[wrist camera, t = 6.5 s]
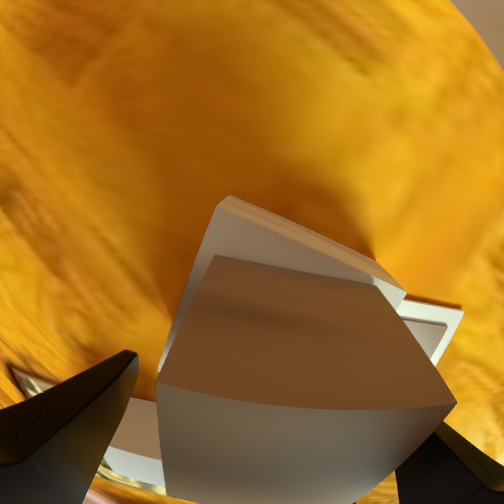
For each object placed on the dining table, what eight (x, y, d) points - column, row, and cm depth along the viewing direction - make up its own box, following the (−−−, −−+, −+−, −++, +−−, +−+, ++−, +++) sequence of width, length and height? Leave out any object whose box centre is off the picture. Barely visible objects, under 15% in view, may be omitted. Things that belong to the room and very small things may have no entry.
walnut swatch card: (415, 390, 16) (417, 394, 16) (333, 387, 16) (334, 392, 16) (462, 309, 14) (465, 313, 14) (378, 293, 14) (381, 297, 13)
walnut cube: (326, 396, 12) (346, 507, 6) (198, 378, 12) (166, 495, 6) (376, 285, 10) (457, 402, 4) (214, 254, 10) (155, 381, 4)
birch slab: (303, 371, 16) (311, 420, 12) (178, 326, 15) (157, 371, 12) (374, 259, 14) (407, 292, 10) (229, 193, 13) (215, 206, 9)
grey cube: (188, 441, 19) (176, 489, 14) (133, 430, 19) (115, 473, 14) (180, 405, 17) (163, 460, 13) (118, 393, 18) (93, 440, 13)
